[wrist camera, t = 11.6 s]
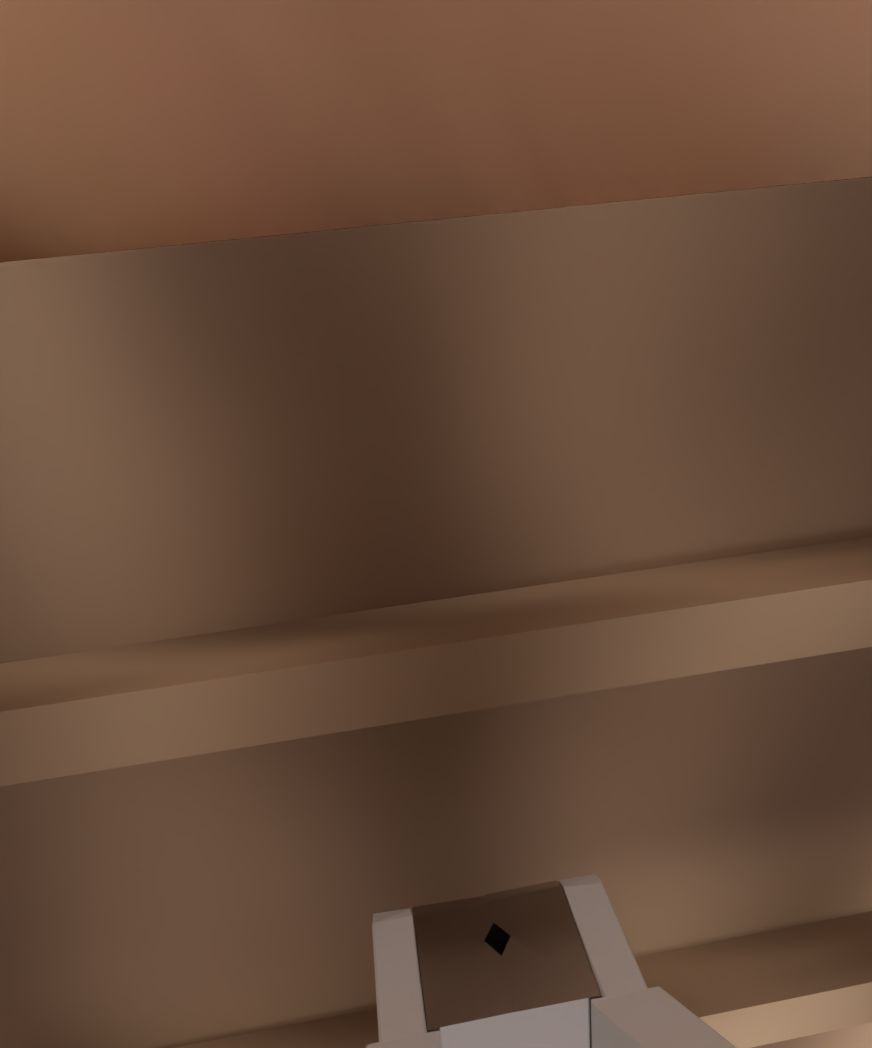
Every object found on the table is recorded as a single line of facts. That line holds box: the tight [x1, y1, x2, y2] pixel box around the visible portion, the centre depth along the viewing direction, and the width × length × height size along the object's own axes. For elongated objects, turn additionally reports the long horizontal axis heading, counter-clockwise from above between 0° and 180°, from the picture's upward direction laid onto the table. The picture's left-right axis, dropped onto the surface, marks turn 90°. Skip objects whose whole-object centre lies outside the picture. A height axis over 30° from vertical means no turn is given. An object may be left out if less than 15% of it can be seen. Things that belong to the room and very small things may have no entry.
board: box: [0, 177, 872, 1048], centre depth 12 cm, size 32×18×4 cm, turn 95°
